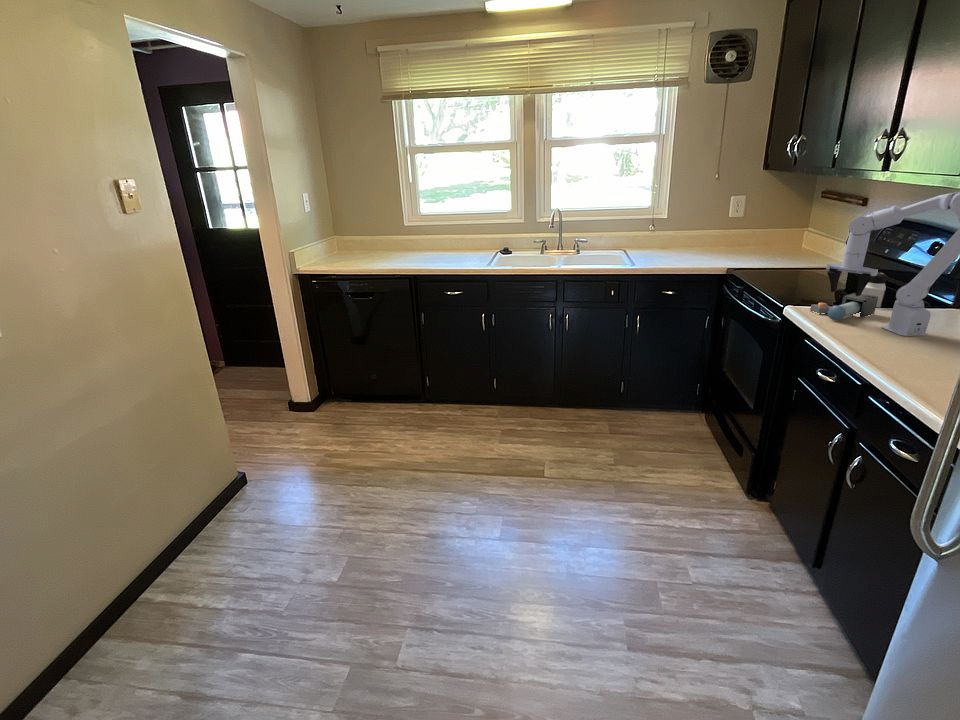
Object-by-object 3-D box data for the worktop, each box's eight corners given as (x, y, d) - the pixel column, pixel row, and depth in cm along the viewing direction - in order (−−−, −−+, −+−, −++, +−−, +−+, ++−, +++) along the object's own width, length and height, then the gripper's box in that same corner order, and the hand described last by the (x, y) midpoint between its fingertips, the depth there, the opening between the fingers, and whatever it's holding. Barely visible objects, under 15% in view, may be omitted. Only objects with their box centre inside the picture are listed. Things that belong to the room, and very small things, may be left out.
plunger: (826, 312, 184) (828, 304, 183) (819, 312, 184) (821, 304, 183) (822, 310, 186) (823, 302, 185) (815, 310, 186) (816, 302, 185)
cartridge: (847, 311, 184) (851, 298, 183) (863, 314, 180) (866, 301, 179) (826, 318, 177) (829, 304, 175) (841, 322, 173) (845, 307, 171)
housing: (850, 309, 188) (855, 292, 186) (873, 314, 182) (878, 296, 180) (839, 313, 184) (843, 296, 182) (862, 318, 178) (867, 300, 176)
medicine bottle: (880, 308, 190) (889, 276, 185) (857, 305, 194) (865, 273, 190) (881, 303, 195) (889, 272, 191) (858, 301, 199) (866, 270, 195)
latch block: (831, 314, 183) (833, 307, 182) (818, 314, 183) (820, 308, 182) (822, 310, 188) (824, 304, 187) (809, 310, 188) (811, 304, 187)
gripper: (886, 254, 165) (875, 296, 170) (837, 249, 176) (828, 288, 181) (876, 257, 161) (865, 299, 166) (826, 251, 173) (818, 290, 178)
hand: (845, 293), depth 173 cm, fingers open, 7 cm apart
